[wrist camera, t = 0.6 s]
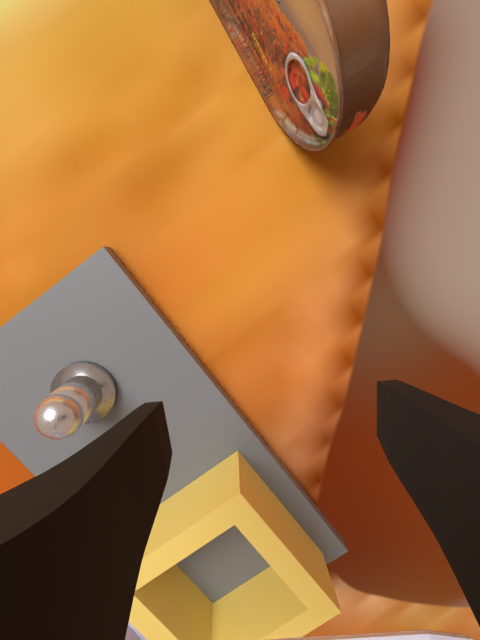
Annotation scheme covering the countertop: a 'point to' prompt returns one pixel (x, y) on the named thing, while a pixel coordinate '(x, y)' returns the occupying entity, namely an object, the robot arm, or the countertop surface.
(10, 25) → the countertop surface
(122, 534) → the robot arm
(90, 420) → the metal drawer knob
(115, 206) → the countertop surface
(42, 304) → the keeper board
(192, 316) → the countertop surface
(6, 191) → the countertop surface
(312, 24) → the tin
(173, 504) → the link
